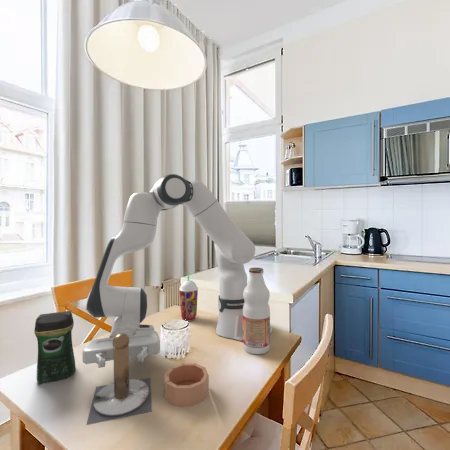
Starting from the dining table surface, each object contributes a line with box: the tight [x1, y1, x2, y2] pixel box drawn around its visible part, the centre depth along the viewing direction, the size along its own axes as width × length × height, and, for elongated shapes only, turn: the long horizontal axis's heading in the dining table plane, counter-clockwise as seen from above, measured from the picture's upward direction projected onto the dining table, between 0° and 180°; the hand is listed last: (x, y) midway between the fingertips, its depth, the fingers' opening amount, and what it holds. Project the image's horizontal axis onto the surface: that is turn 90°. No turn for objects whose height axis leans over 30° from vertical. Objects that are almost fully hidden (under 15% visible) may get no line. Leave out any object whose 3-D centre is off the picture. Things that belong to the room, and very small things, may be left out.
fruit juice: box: [242, 267, 271, 355], centre depth 96 cm, size 9×9×28 cm
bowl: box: [163, 362, 210, 407], centre depth 73 cm, size 11×12×5 cm
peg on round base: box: [94, 333, 149, 417], centre depth 70 cm, size 13×13×16 cm
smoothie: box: [178, 273, 199, 321], centre depth 124 cm, size 8×8×20 cm
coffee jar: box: [33, 310, 76, 384], centre depth 81 cm, size 10×8×19 cm
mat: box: [86, 377, 153, 426], centre depth 70 cm, size 14×14×1 cm
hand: (121, 361), depth 71 cm, fingers open, 8 cm apart
